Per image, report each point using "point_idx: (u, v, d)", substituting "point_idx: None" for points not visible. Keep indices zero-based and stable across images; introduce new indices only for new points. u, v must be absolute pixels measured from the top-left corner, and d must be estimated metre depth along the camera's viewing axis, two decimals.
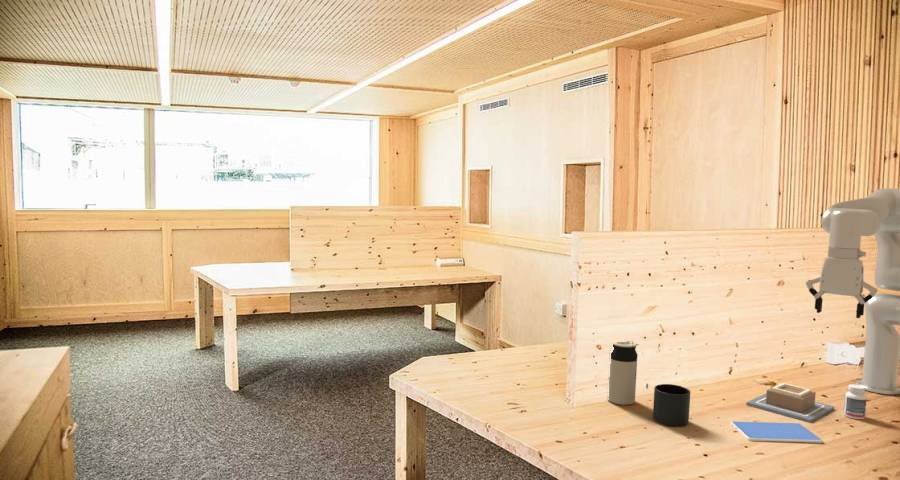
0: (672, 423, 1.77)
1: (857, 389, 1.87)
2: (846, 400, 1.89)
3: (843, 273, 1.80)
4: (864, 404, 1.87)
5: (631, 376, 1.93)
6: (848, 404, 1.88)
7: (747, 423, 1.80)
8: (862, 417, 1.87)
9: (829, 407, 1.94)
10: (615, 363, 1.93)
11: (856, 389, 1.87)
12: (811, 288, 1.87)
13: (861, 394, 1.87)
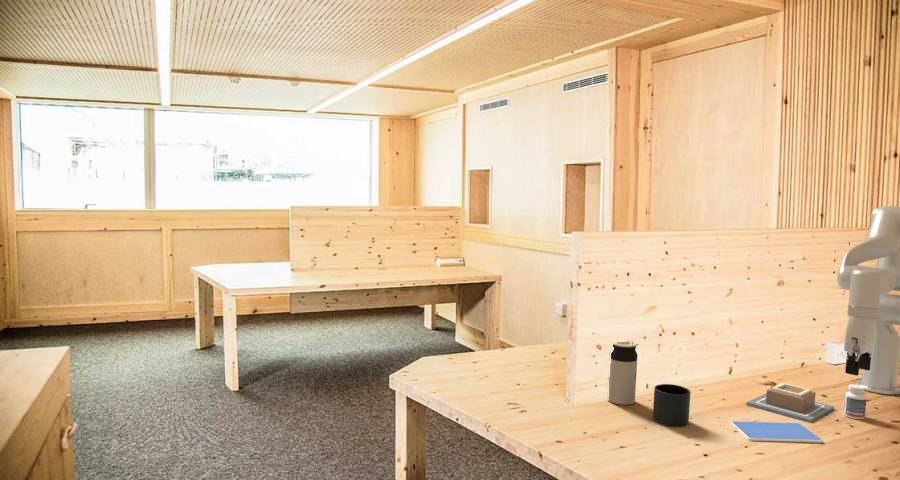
0: (672, 423, 1.77)
1: (857, 389, 1.87)
2: (846, 400, 1.89)
3: (871, 332, 1.86)
4: (864, 404, 1.87)
5: (631, 376, 1.93)
6: (848, 404, 1.88)
7: (747, 423, 1.80)
8: (862, 417, 1.87)
9: (829, 407, 1.94)
10: (615, 363, 1.93)
11: (856, 389, 1.87)
12: (854, 352, 1.82)
13: (861, 394, 1.87)
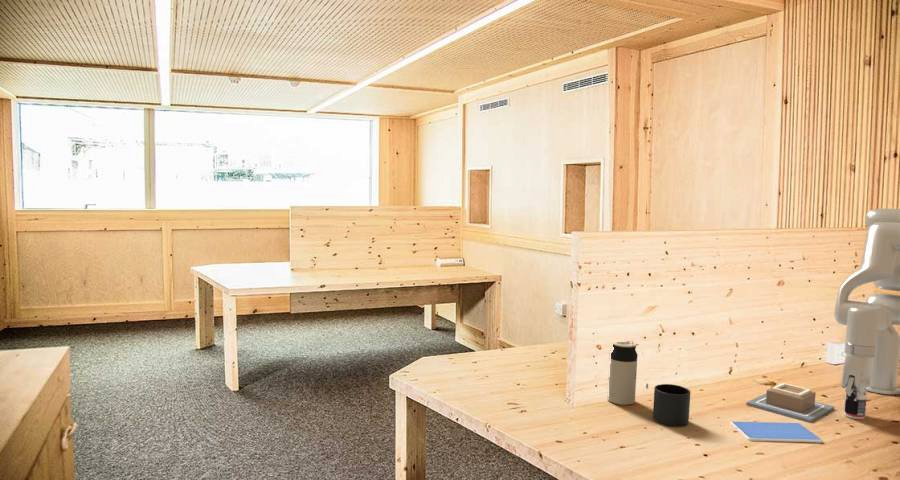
0: (672, 423, 1.77)
1: None
2: None
3: (868, 368, 1.87)
4: (864, 404, 1.87)
5: (631, 376, 1.93)
6: None
7: (747, 423, 1.80)
8: (862, 417, 1.87)
9: (829, 407, 1.94)
10: (615, 363, 1.93)
11: None
12: (853, 393, 1.85)
13: (861, 394, 1.87)
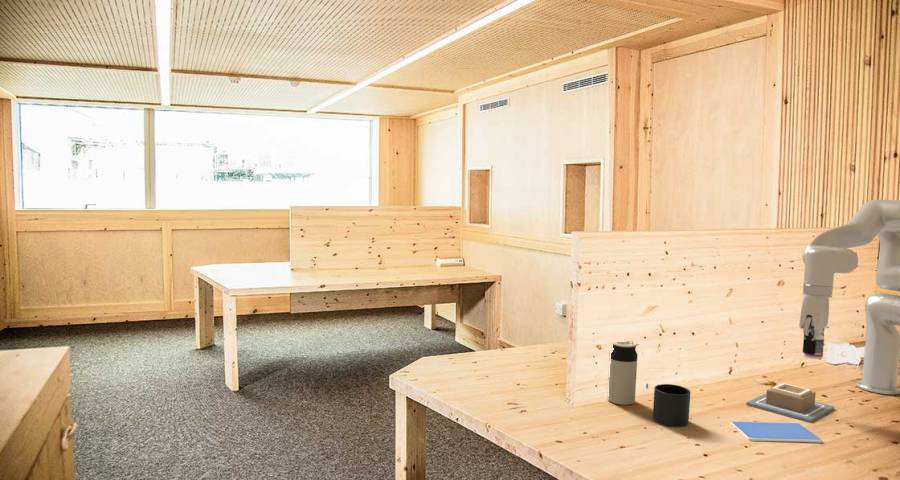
0: (672, 423, 1.77)
1: None
2: None
3: (825, 309, 1.90)
4: (822, 344, 1.90)
5: (631, 376, 1.93)
6: None
7: (747, 423, 1.80)
8: (820, 357, 1.90)
9: (829, 407, 1.94)
10: (615, 363, 1.93)
11: None
12: (810, 332, 1.88)
13: (818, 334, 1.90)
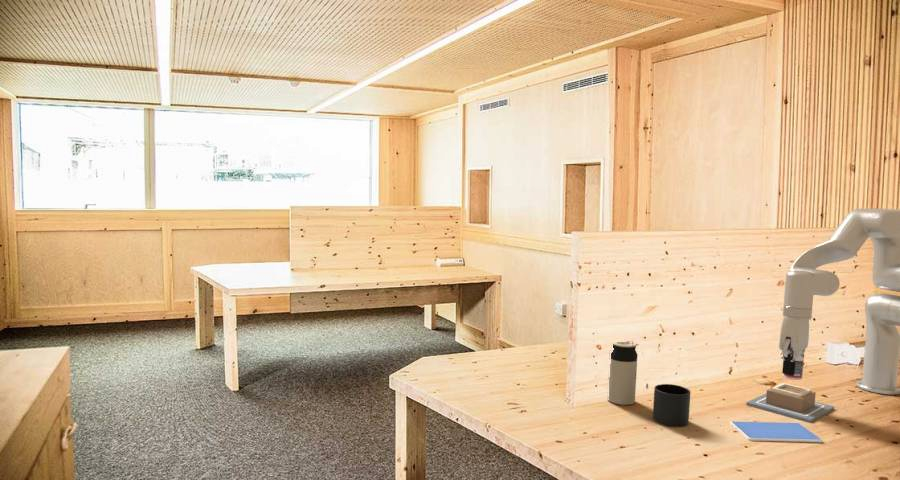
0: (672, 423, 1.77)
1: None
2: None
3: (805, 331, 1.93)
4: (801, 365, 1.92)
5: (631, 376, 1.93)
6: None
7: (747, 423, 1.80)
8: (799, 378, 1.93)
9: (829, 407, 1.94)
10: (615, 363, 1.93)
11: None
12: (789, 354, 1.90)
13: (798, 355, 1.93)
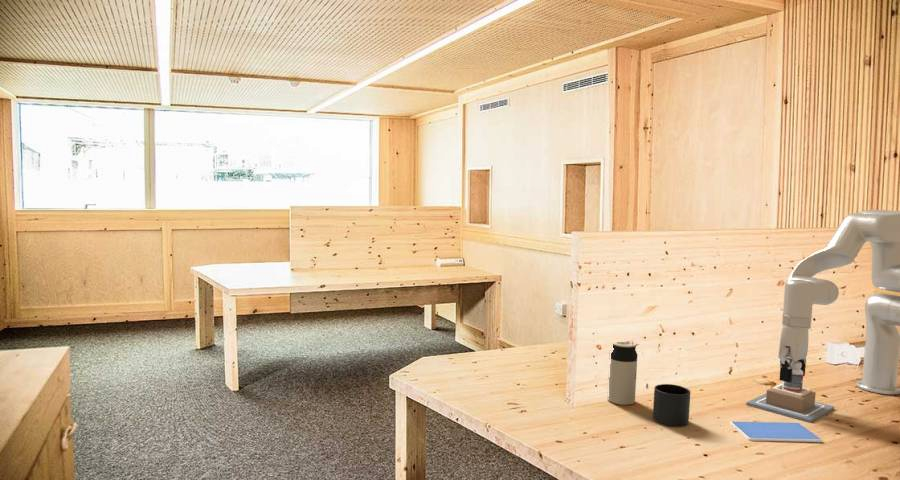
0: (672, 423, 1.77)
1: (794, 364, 1.93)
2: None
3: (804, 340, 1.93)
4: (800, 379, 1.93)
5: (631, 376, 1.93)
6: None
7: (747, 423, 1.80)
8: (799, 391, 1.93)
9: (829, 407, 1.94)
10: (615, 363, 1.93)
11: (793, 364, 1.93)
12: (786, 360, 1.89)
13: (798, 369, 1.93)
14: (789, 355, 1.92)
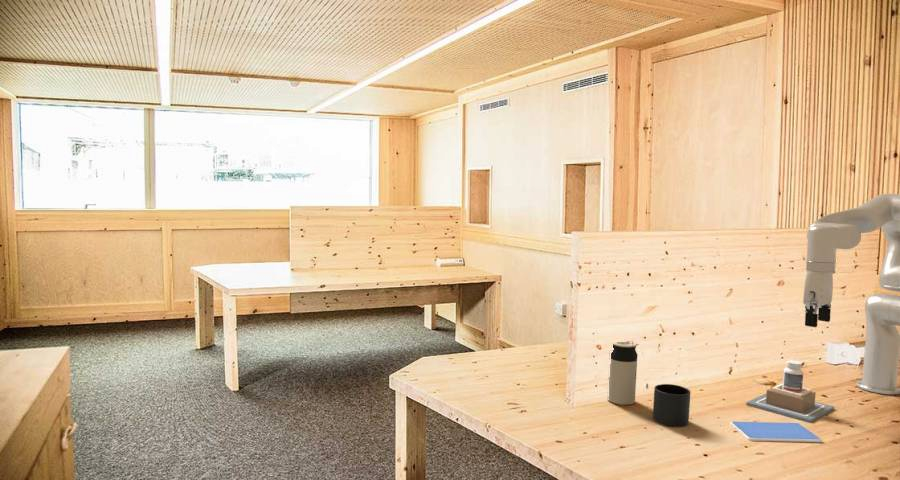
0: (672, 423, 1.77)
1: (794, 364, 1.93)
2: (784, 375, 1.95)
3: (829, 285, 1.93)
4: (800, 379, 1.93)
5: (631, 376, 1.93)
6: (785, 379, 1.95)
7: (746, 423, 1.80)
8: (799, 391, 1.93)
9: (829, 407, 1.94)
10: (615, 363, 1.93)
11: (793, 364, 1.93)
12: (811, 305, 1.90)
13: (798, 369, 1.93)
14: (814, 300, 1.93)
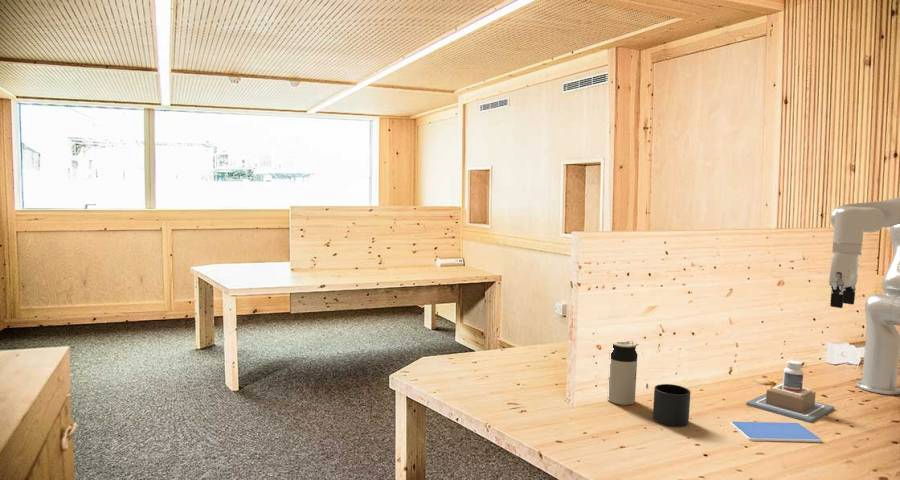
0: (672, 423, 1.77)
1: (794, 364, 1.93)
2: (784, 375, 1.95)
3: (855, 267, 1.95)
4: (800, 379, 1.93)
5: (631, 376, 1.93)
6: (785, 379, 1.95)
7: (746, 423, 1.80)
8: (799, 391, 1.93)
9: (829, 407, 1.94)
10: (615, 363, 1.93)
11: (793, 364, 1.93)
12: (838, 286, 1.92)
13: (798, 369, 1.93)
14: (840, 281, 1.95)
